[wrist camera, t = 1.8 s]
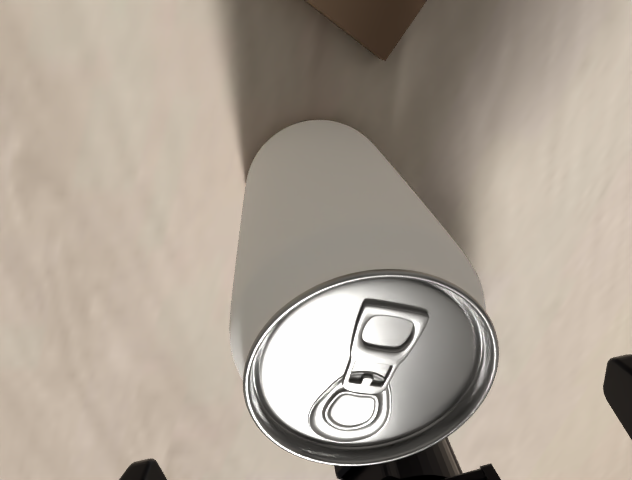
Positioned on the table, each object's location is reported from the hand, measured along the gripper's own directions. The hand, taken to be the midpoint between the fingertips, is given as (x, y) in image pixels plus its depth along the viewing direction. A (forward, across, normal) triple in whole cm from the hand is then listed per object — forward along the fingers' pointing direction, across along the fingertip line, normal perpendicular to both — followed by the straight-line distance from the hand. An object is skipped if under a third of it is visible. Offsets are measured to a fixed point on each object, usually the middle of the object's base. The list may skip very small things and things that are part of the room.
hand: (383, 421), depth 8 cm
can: (+13, 0, 0) cm, 13 cm away
